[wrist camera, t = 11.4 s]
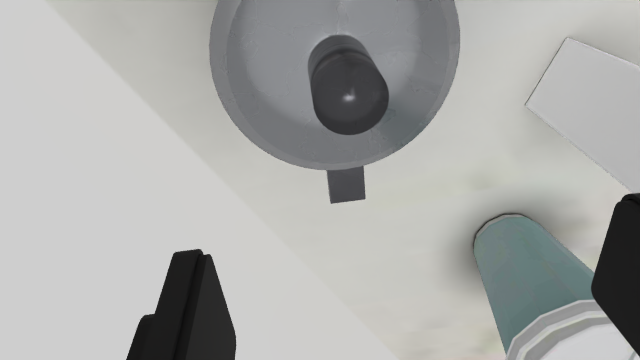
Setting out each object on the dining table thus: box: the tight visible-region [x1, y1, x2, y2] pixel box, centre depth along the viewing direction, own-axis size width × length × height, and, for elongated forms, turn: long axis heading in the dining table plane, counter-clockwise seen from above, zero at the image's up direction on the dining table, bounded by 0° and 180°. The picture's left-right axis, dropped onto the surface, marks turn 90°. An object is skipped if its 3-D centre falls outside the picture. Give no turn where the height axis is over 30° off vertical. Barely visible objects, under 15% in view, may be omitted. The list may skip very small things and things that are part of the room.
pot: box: [209, 0, 460, 204], centre depth 29 cm, size 20×14×9 cm
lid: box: [226, 0, 449, 164], centre depth 22 cm, size 12×12×6 cm
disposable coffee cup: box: [473, 214, 640, 360], centre depth 38 cm, size 11×11×15 cm
